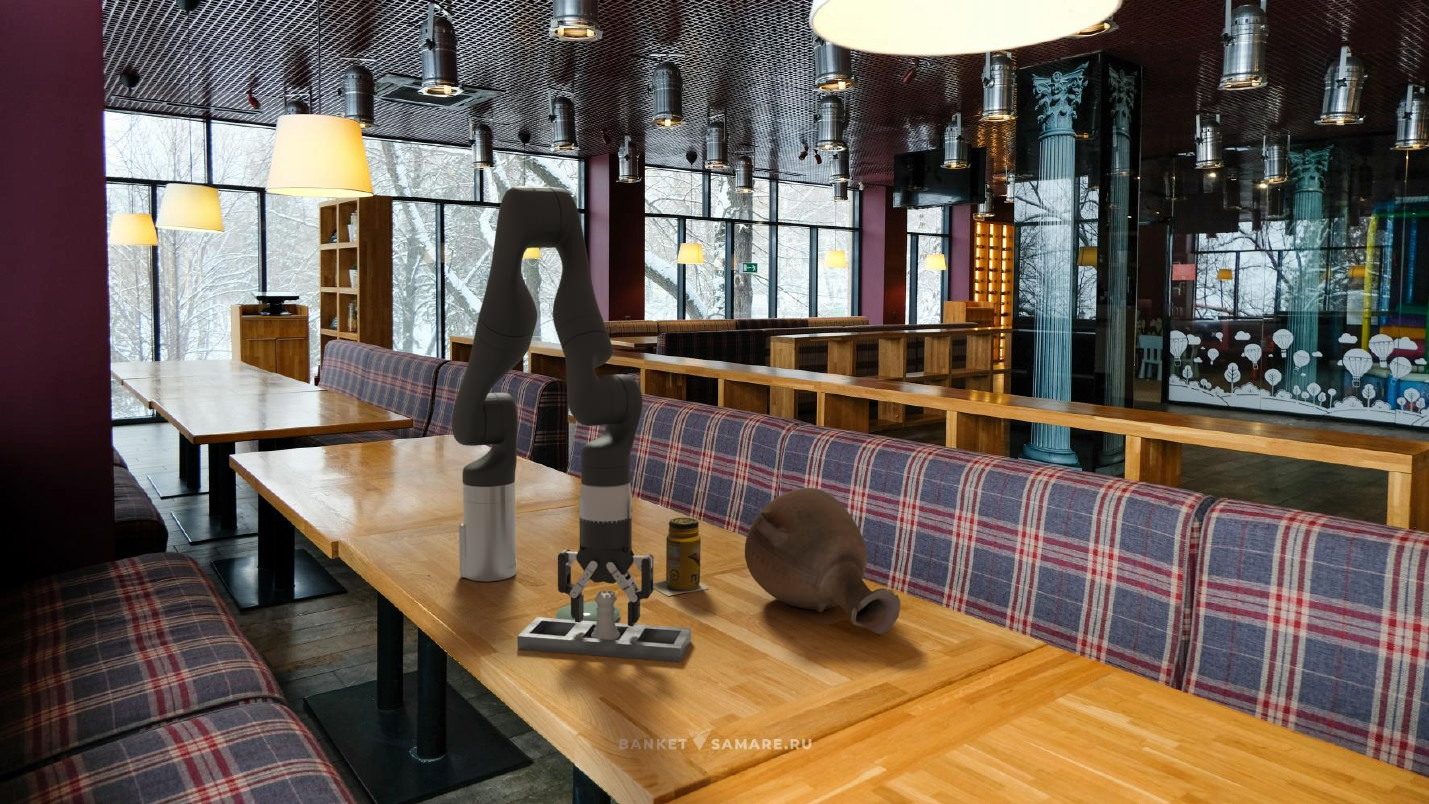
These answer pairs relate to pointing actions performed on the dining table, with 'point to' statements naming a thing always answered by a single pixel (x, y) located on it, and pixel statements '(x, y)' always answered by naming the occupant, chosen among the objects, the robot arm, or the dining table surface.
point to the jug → (816, 559)
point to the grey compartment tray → (605, 640)
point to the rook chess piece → (605, 617)
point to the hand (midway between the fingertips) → (605, 622)
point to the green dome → (589, 612)
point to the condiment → (682, 558)
